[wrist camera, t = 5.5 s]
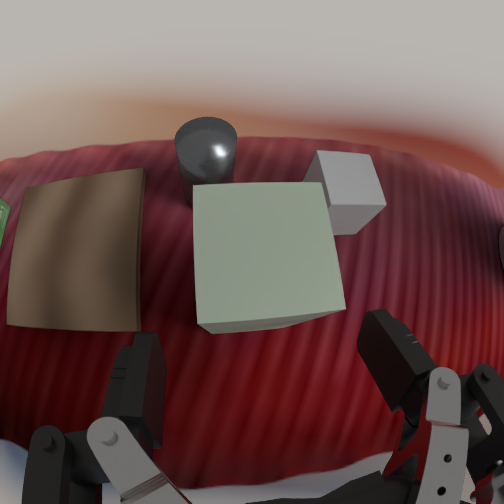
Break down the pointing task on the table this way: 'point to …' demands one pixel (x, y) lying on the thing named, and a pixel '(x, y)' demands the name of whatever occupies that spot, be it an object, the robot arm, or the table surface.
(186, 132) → the metal cylinder
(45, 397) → the table surface
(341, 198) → the grey block
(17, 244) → the walnut board
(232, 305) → the sage block
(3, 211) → the ink box
